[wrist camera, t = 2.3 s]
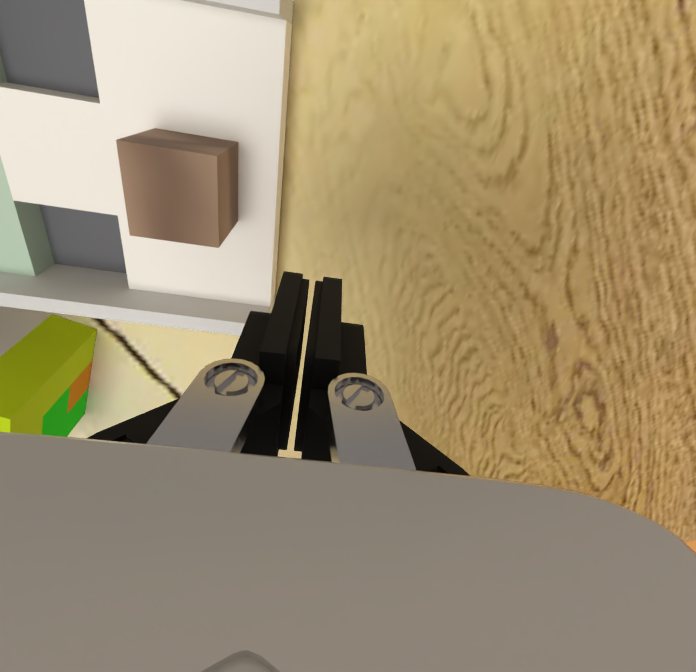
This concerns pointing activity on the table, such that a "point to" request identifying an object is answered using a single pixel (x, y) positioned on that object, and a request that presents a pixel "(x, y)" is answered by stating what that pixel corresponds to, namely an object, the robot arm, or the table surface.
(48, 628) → the robot arm
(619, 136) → the table surface
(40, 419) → the puzzle toy
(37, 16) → the tray
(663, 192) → the table surface
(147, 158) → the walnut block
